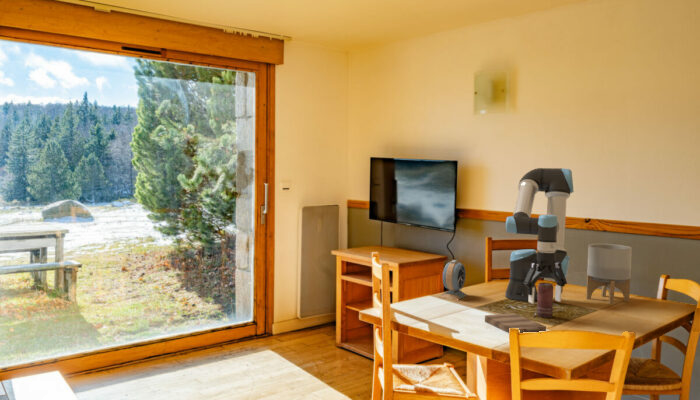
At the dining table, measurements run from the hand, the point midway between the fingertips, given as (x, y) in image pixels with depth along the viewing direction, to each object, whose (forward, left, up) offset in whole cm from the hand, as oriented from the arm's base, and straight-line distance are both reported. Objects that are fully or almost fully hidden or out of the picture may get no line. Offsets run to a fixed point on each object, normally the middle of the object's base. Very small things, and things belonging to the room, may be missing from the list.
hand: (544, 301), depth 230 cm
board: (+11, -22, -6) cm, 25 cm away
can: (0, 0, -7) cm, 7 cm away
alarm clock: (-43, -19, -7) cm, 48 cm away
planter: (-17, +50, -7) cm, 54 cm away
